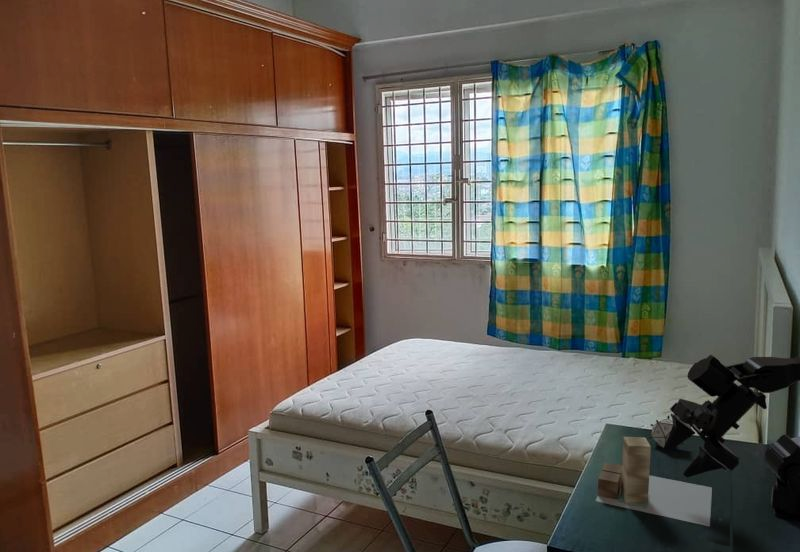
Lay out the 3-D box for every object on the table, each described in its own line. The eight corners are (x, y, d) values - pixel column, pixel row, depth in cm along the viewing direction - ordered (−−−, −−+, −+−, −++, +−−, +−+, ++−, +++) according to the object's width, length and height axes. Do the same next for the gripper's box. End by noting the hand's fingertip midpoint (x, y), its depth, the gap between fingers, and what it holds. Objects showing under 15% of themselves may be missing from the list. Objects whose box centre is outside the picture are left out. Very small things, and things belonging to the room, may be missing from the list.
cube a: (619, 491, 137) (620, 474, 136) (616, 499, 134) (617, 482, 133) (601, 487, 139) (601, 470, 138) (597, 495, 135) (598, 478, 135)
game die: (659, 463, 159) (637, 435, 158) (663, 440, 166) (642, 413, 164) (693, 456, 154) (670, 426, 152) (695, 432, 160) (674, 404, 159)
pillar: (642, 493, 136) (645, 437, 134) (647, 504, 131) (650, 446, 129) (621, 492, 136) (623, 436, 134) (625, 503, 132) (628, 445, 130)
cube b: (622, 482, 141) (623, 465, 140) (620, 490, 137) (620, 473, 137) (604, 478, 143) (605, 462, 142) (601, 486, 139) (602, 469, 139)
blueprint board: (711, 491, 138) (712, 487, 138) (709, 530, 123) (709, 525, 123) (608, 471, 148) (609, 466, 148) (595, 505, 133) (595, 500, 133)
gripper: (678, 368, 135) (629, 420, 138) (724, 412, 117) (667, 470, 121) (714, 395, 137) (665, 445, 141) (764, 442, 119) (707, 498, 123)
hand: (674, 462), depth 131 cm, fingers open, 9 cm apart
